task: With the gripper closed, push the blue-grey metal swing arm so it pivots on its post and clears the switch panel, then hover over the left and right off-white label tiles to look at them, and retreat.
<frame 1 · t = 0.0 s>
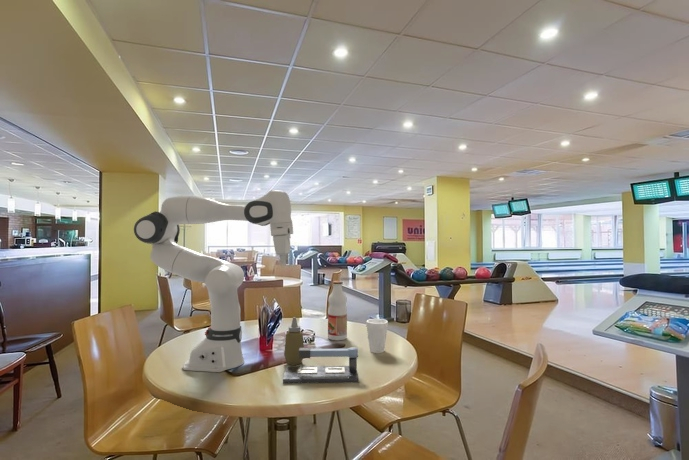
hand: (285, 265, 144), 39 cm above the table, tool pointing down, fingers open, 8 cm apart
squeeze bottle: (294, 363, 144), on the table
fruit juice: (337, 338, 179), on the table
foam cup: (377, 351, 160), on the table
swing arm: (328, 352, 132), point 8 cm above the table, hinge at 0.0°
switch panel: (321, 376, 130), on the table
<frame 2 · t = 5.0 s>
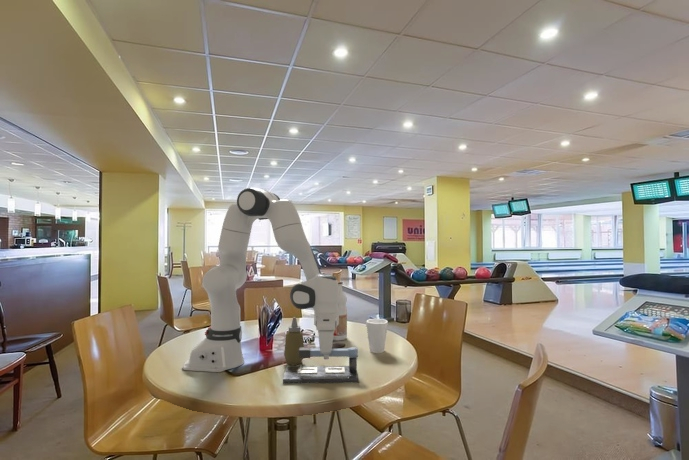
hand: (326, 358, 129), 7 cm above the table, tool pointing down, fingers closed
swing arm: (328, 352, 132), point 8 cm above the table, hinge at 0.8°, touching gripper
everything else where it was.
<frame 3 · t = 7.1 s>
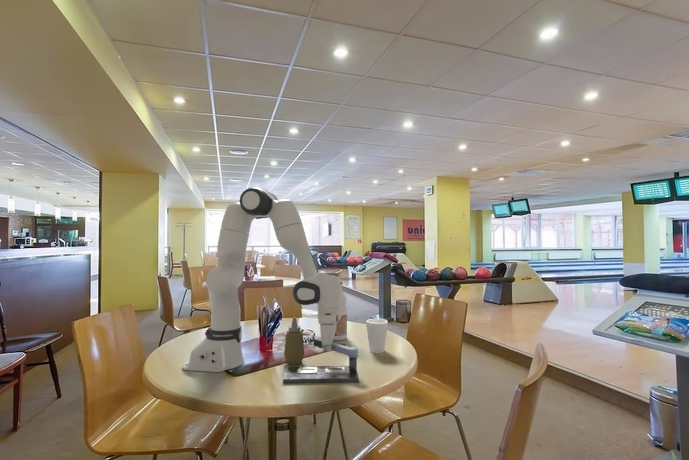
hand: (329, 350, 137), 7 cm above the table, tool pointing down, fingers closed
swing arm: (335, 347, 138), point 8 cm above the table, hinge at 45.3°, touching gripper
everything else where it was.
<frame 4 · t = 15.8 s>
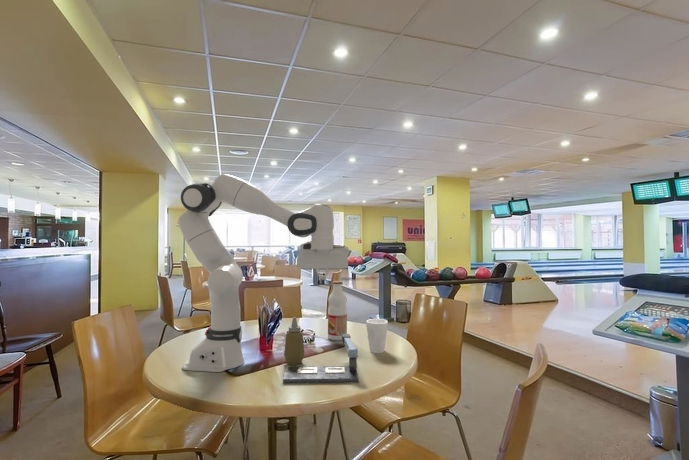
hand: (322, 280, 143), 33 cm above the table, tool pointing down, fingers closed
swing arm: (349, 345, 141), point 8 cm above the table, hinge at 84.6°
everything else where it was.
at the end: swing arm at +85° (first picture: +0°) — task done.
